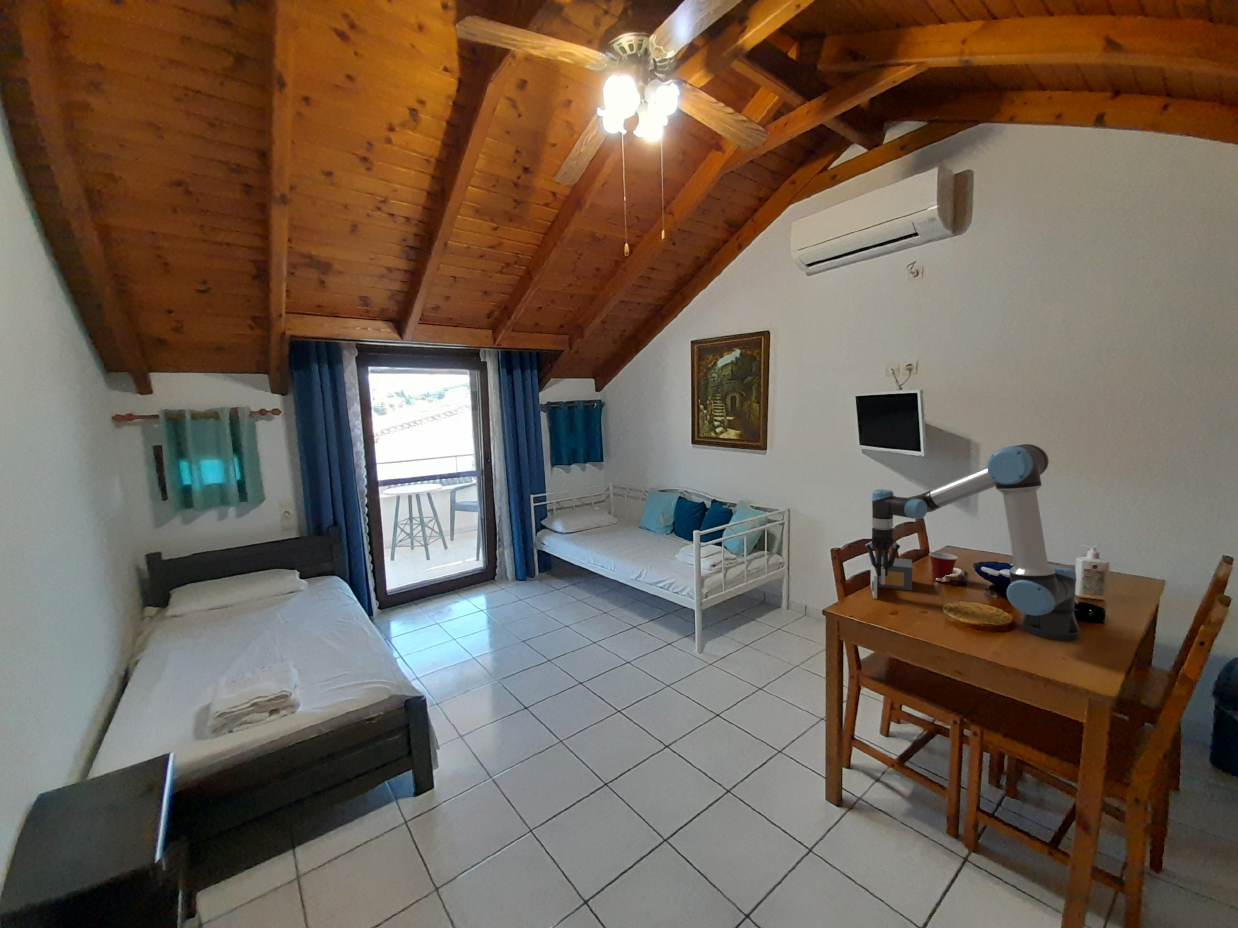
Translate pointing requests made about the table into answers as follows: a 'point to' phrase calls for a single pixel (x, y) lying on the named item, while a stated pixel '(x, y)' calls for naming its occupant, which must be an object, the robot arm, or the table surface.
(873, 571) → the side door
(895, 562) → the grey box with door
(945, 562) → the plastic cup
